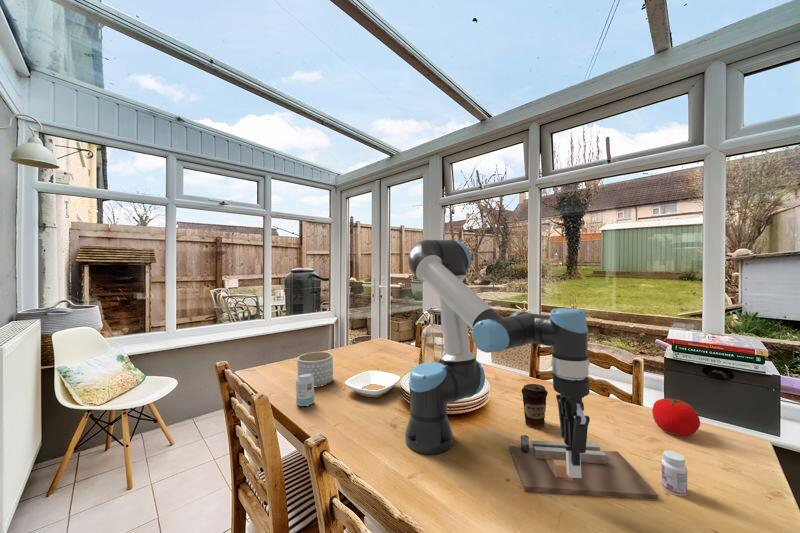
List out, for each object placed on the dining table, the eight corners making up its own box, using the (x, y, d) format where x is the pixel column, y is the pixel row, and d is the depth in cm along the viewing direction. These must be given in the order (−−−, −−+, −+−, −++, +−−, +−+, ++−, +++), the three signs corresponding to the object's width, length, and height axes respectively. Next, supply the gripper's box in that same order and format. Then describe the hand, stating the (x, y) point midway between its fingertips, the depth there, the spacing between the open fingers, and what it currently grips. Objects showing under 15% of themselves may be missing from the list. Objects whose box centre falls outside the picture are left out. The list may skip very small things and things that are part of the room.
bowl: (406, 387, 143) (406, 376, 143) (378, 406, 125) (378, 393, 125) (369, 379, 155) (368, 368, 155) (338, 395, 136) (338, 383, 136)
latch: (556, 477, 80) (555, 465, 80) (552, 470, 82) (552, 459, 82) (571, 478, 79) (571, 466, 79) (567, 471, 82) (567, 460, 82)
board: (524, 491, 77) (524, 485, 77) (509, 450, 94) (509, 445, 94) (658, 499, 73) (658, 494, 73) (617, 455, 90) (617, 451, 90)
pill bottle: (656, 483, 79) (655, 450, 78) (673, 482, 79) (673, 448, 79) (674, 497, 74) (674, 462, 74) (693, 496, 74) (692, 460, 74)
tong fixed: (522, 452, 90) (521, 439, 90) (520, 448, 93) (519, 434, 93) (600, 456, 88) (600, 442, 88) (596, 452, 90) (596, 438, 90)
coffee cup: (551, 432, 103) (550, 392, 103) (524, 430, 105) (524, 391, 105) (544, 419, 112) (544, 382, 112) (520, 417, 113) (519, 381, 113)
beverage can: (313, 399, 132) (313, 371, 132) (314, 406, 126) (314, 376, 126) (296, 402, 130) (295, 373, 130) (296, 409, 124) (295, 378, 124)
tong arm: (535, 458, 87) (535, 449, 87) (533, 454, 89) (533, 446, 89) (606, 464, 84) (606, 455, 84) (603, 460, 86) (603, 451, 86)
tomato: (661, 438, 98) (661, 405, 98) (646, 420, 109) (645, 390, 109) (707, 445, 94) (707, 410, 94) (686, 425, 106) (686, 394, 105)
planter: (328, 389, 143) (328, 361, 143) (292, 389, 143) (292, 362, 143) (336, 376, 160) (335, 351, 160) (304, 376, 160) (303, 352, 160)
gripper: (601, 385, 67) (605, 496, 67) (575, 366, 80) (578, 459, 80) (564, 385, 68) (568, 494, 68) (544, 366, 81) (547, 458, 81)
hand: (573, 475), depth 74 cm, fingers closed
